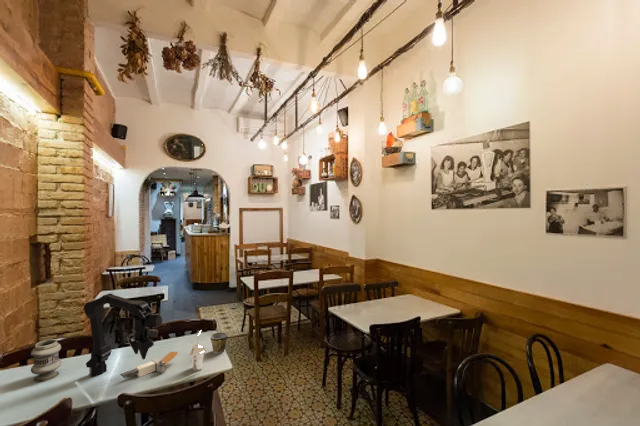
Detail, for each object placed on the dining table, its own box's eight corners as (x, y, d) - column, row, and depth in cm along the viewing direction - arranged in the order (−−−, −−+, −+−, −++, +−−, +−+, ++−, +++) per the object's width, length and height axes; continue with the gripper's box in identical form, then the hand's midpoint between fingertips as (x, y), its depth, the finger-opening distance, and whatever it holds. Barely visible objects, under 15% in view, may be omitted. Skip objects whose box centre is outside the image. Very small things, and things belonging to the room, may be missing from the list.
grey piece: (133, 388, 148) (133, 378, 148) (119, 376, 159) (119, 366, 159) (166, 374, 161) (166, 365, 161) (151, 364, 172) (151, 355, 172)
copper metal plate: (157, 366, 159) (157, 362, 159) (170, 354, 173) (170, 351, 173) (164, 366, 159) (164, 363, 159) (177, 354, 172) (177, 351, 172)
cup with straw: (185, 372, 163) (185, 335, 163) (198, 364, 172) (198, 329, 172) (197, 375, 160) (197, 337, 160) (210, 367, 168) (210, 331, 168)
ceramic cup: (209, 349, 190) (209, 333, 190) (226, 346, 194) (226, 331, 194) (211, 358, 178) (211, 341, 178) (229, 355, 182) (229, 338, 182)
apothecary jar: (24, 384, 151) (24, 348, 151) (39, 372, 163) (39, 338, 163) (53, 381, 154) (53, 345, 154) (66, 369, 166) (66, 336, 166)
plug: (128, 381, 153) (128, 373, 153) (125, 378, 155) (125, 370, 155) (155, 370, 163) (155, 363, 163) (152, 368, 165) (152, 360, 165)
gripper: (164, 326, 159) (164, 356, 159) (148, 318, 171) (148, 346, 171) (141, 333, 150) (141, 364, 150) (126, 324, 162) (126, 353, 162)
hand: (140, 356), depth 159 cm, fingers open, 9 cm apart
